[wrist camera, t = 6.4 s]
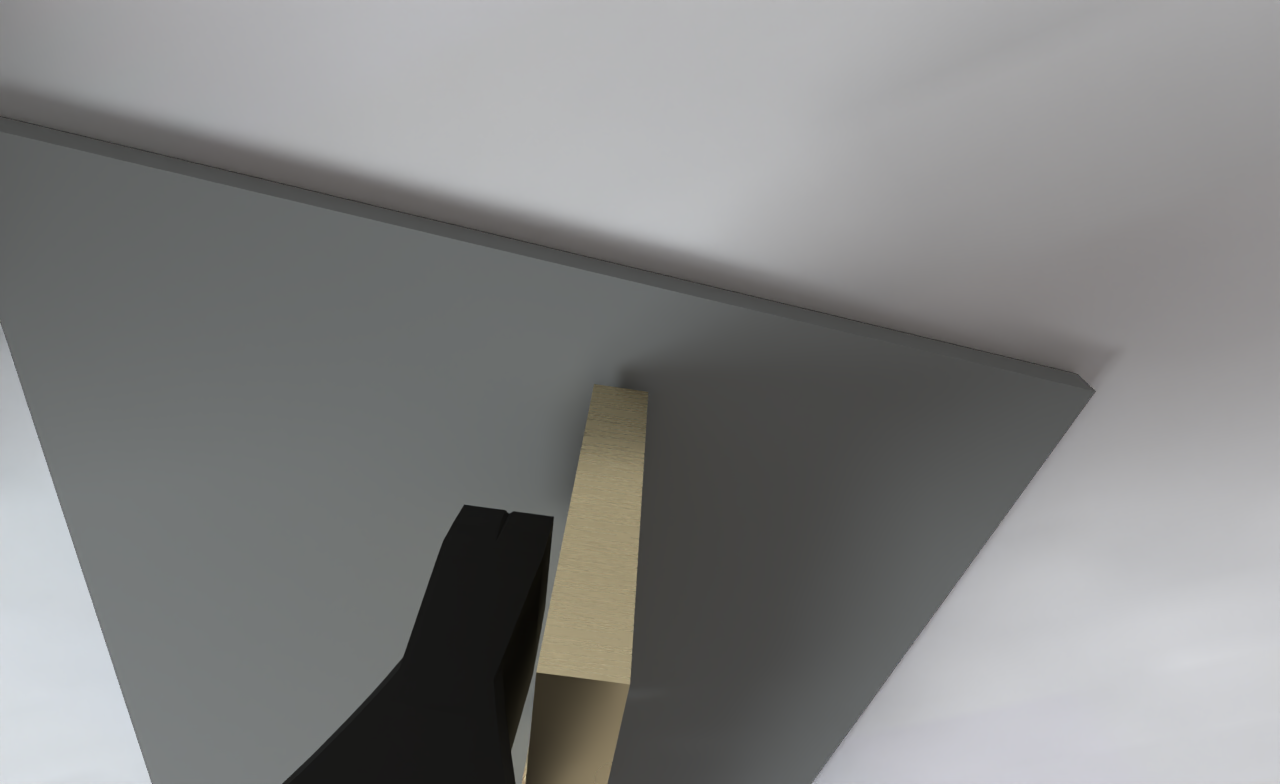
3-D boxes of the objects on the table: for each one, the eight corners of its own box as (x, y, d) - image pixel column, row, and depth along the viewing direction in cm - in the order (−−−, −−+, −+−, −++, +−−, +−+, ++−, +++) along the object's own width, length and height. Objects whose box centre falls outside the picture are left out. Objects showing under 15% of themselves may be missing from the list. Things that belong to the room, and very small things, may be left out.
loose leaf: (600, 756, 15) (573, 1042, 11) (530, 748, 15) (476, 1033, 11) (675, 395, 10) (676, 690, 6) (567, 380, 9) (489, 666, 5)
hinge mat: (1077, 373, 10) (1095, 391, 10) (698, 918, 21) (699, 937, 20) (-30, 109, 9) (-68, 115, 8) (187, 839, 20) (176, 858, 19)
